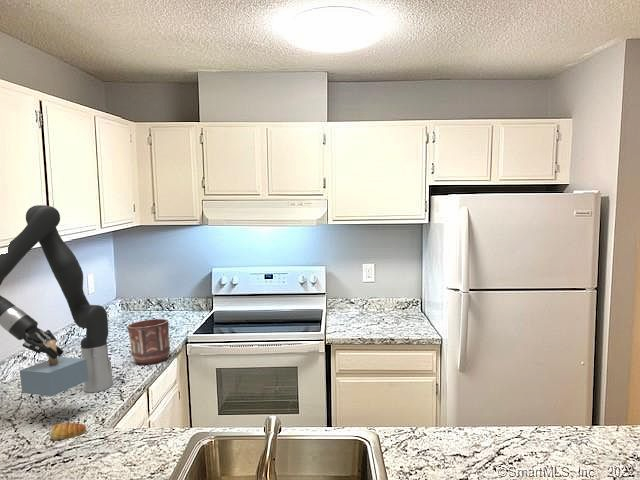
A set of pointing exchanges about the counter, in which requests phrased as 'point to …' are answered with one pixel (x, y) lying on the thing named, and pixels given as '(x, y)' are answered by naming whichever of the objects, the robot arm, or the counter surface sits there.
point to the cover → (54, 375)
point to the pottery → (149, 340)
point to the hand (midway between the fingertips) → (59, 355)
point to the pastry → (67, 430)
